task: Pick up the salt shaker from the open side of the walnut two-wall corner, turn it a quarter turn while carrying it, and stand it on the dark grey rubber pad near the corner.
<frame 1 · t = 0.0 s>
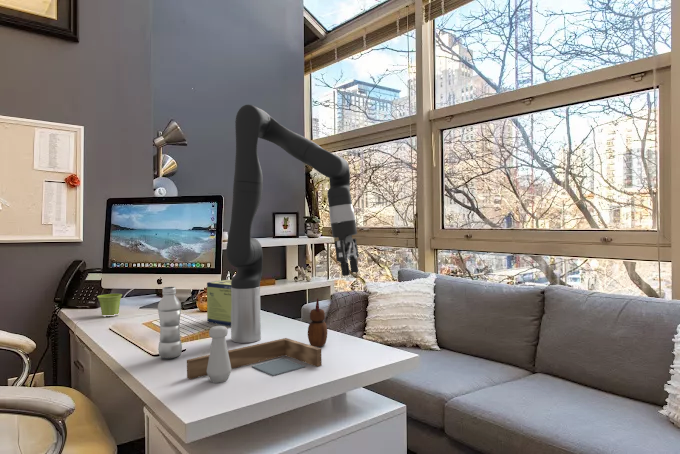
hand: (350, 274, 138), 22 cm above the table, tool pointing down, fingers open, 8 cm apart
salt shaker: (219, 380, 112), on the table
wooden figurine: (317, 346, 142), on the table
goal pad: (278, 367, 121), on the table
protein box: (231, 322, 178), on the table
plastic bottle: (170, 358, 131), on the table
plant pot: (110, 316, 192), on the table
wooden l-shaped bracket: (256, 371, 118), on the table
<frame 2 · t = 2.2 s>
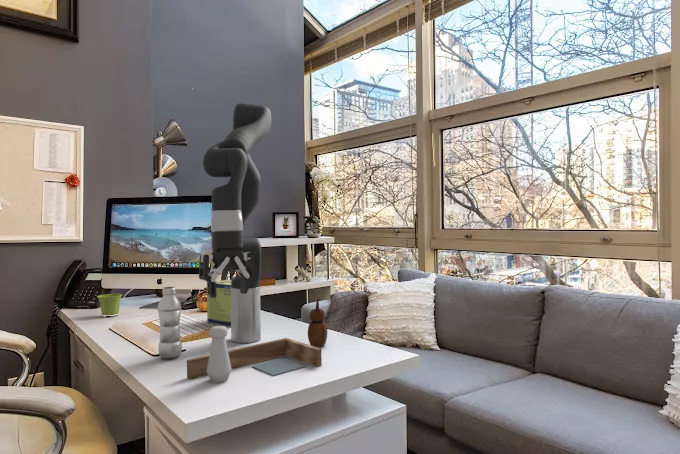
hand: (228, 295, 113), 20 cm above the table, tool pointing down, fingers open, 8 cm apart
nothing on the table moved.
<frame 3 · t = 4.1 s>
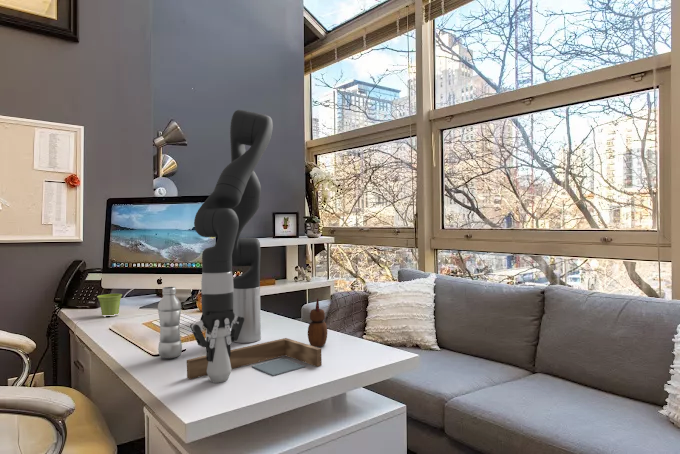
hand: (218, 360, 112), 5 cm above the table, tool pointing down, fingers closed on salt shaker, 3 cm apart
salt shaker: (219, 380, 112), on the table, touching gripper
everything else where it was.
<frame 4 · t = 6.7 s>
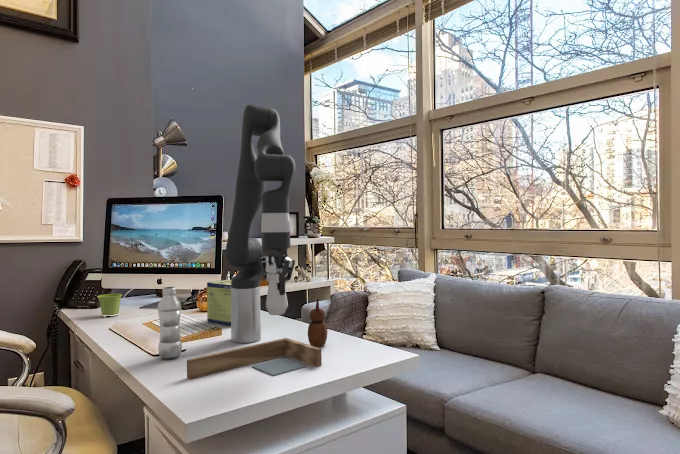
hand: (276, 295, 121), 19 cm above the table, tool pointing down, fingers closed on salt shaker, 3 cm apart
salt shaker: (277, 314, 121), point 14 cm above the table, touching gripper
everything else where it was.
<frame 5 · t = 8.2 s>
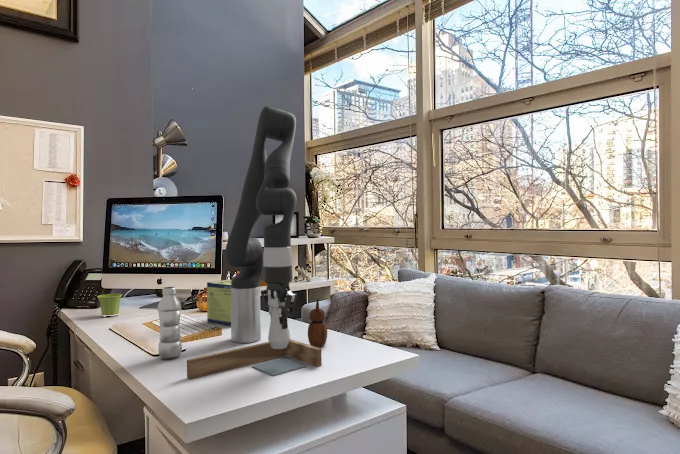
hand: (279, 329, 121), 10 cm above the table, tool pointing down, fingers closed on salt shaker, 3 cm apart
salt shaker: (279, 347, 121), point 5 cm above the table, touching gripper
everything else where it was.
when the fingers open (6 cm above the table, at t = 9.3 s): salt shaker drops 1 cm, resting on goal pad.
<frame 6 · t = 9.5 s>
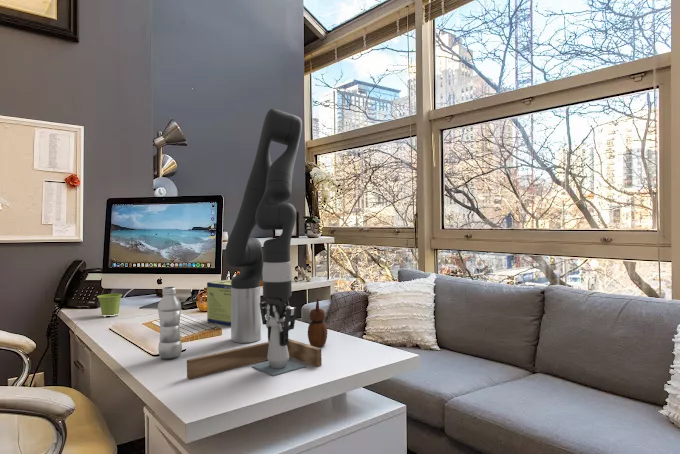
hand: (277, 343, 121), 6 cm above the table, tool pointing down, fingers open, 4 cm apart
salt shaker: (278, 366, 121), resting on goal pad
everything else where it was.
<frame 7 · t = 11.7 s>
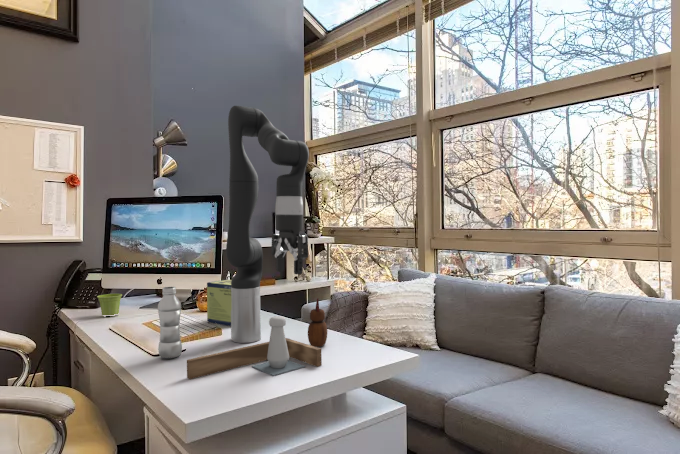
hand: (288, 272, 126), 24 cm above the table, tool pointing down, fingers open, 8 cm apart
nothing on the table moved.
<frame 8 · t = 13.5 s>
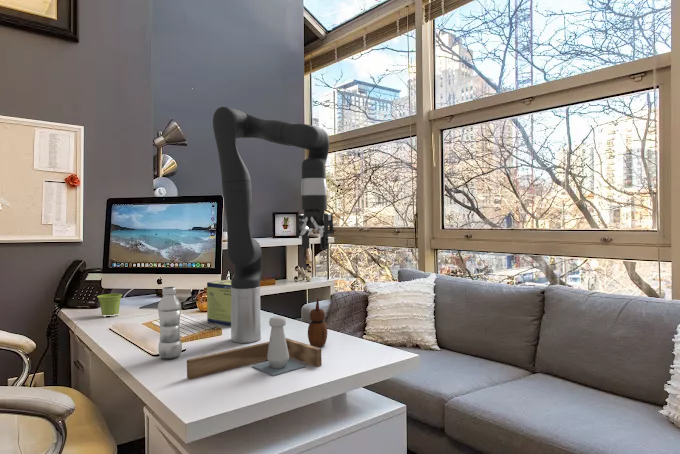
hand: (314, 249, 136), 30 cm above the table, tool pointing down, fingers open, 8 cm apart
nothing on the table moved.
at the end: salt shaker inside the target area on the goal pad (0.1 cm from its centre), point 0.1 cm above the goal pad's base; salt shaker tilted 0°; the gripper is holding nothing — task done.
